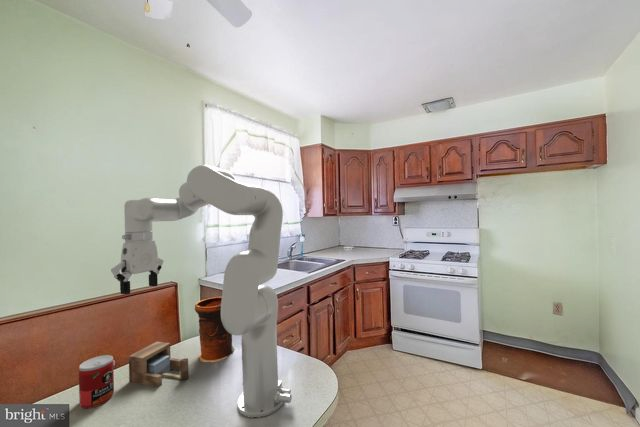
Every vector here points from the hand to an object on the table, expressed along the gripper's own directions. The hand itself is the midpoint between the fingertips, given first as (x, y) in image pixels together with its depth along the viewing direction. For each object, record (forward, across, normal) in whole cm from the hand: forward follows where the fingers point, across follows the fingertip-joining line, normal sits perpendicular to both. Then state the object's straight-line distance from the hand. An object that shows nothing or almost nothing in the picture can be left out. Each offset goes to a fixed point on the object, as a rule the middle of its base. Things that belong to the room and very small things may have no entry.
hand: (140, 289), depth 86 cm
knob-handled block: (+29, +3, -7) cm, 30 cm away
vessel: (+29, +20, -13) cm, 38 cm away
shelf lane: (+29, +4, -3) cm, 30 cm away
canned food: (+30, -10, +4) cm, 32 cm away
